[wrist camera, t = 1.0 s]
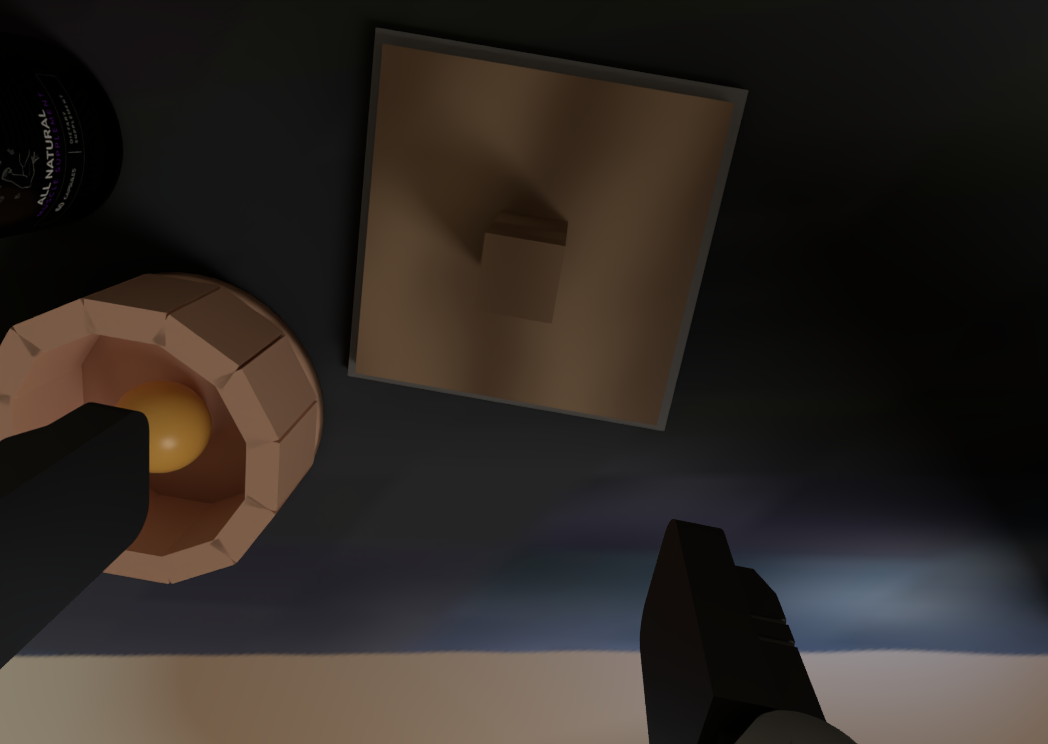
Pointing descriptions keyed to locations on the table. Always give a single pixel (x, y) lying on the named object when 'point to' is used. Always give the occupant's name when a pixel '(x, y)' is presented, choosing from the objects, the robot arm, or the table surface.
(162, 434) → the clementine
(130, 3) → the table surface
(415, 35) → the mat
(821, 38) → the table surface
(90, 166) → the supplement bottle
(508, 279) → the lid
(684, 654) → the robot arm
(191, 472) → the bowl
